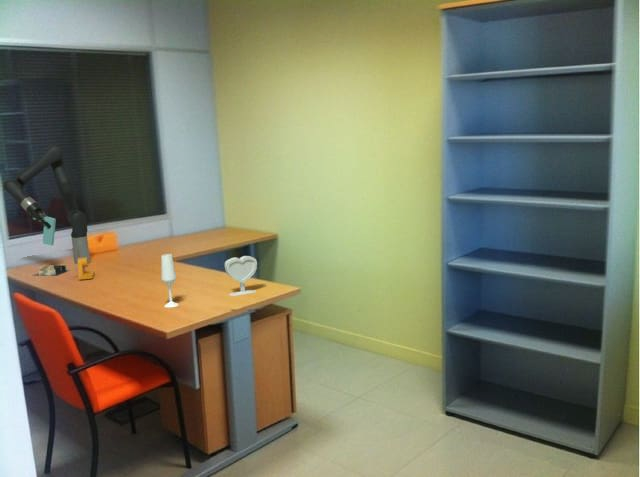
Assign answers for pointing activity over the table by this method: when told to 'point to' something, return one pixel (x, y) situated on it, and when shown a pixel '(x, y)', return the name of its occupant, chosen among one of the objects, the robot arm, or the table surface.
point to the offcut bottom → (47, 272)
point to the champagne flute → (168, 275)
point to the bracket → (81, 269)
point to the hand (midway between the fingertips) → (51, 227)
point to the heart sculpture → (241, 271)
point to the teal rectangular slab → (49, 231)
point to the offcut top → (46, 268)
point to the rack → (56, 270)
